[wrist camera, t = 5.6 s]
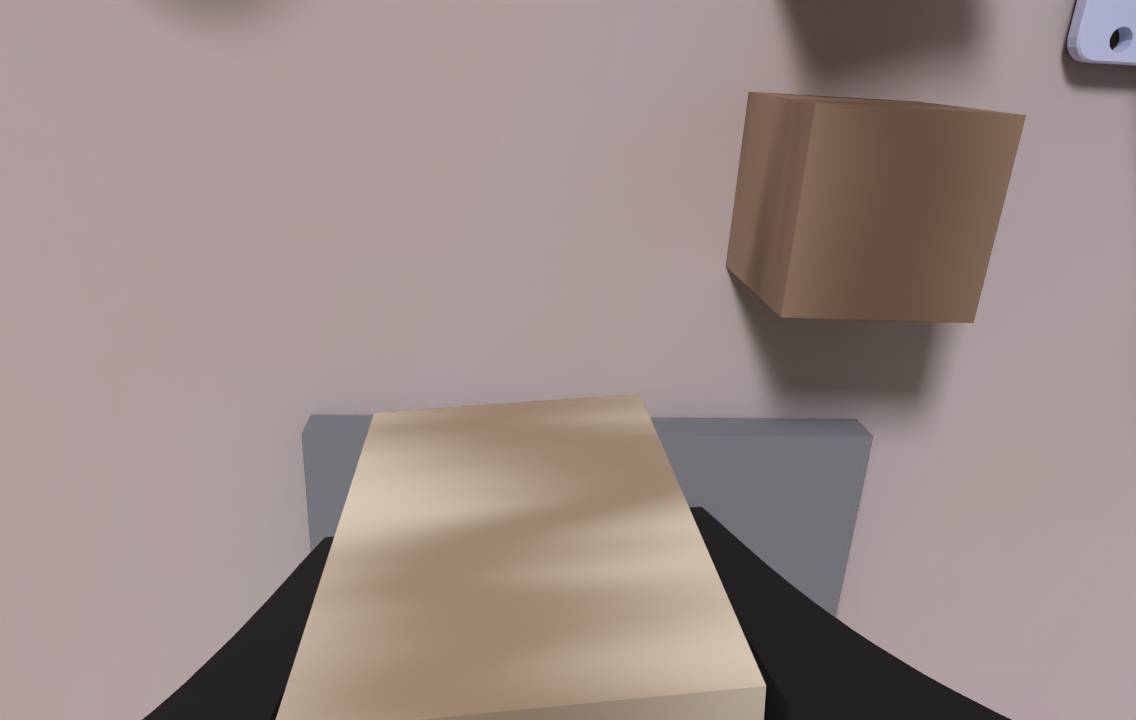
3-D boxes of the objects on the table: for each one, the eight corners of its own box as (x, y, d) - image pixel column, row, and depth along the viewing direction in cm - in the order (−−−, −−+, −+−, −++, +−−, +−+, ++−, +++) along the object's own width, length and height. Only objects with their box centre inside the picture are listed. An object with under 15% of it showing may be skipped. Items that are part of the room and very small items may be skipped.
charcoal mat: (855, 419, 21) (873, 436, 20) (803, 687, 24) (815, 712, 23) (310, 415, 20) (301, 433, 19) (331, 700, 23) (324, 727, 22)
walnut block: (916, 101, 18) (1025, 115, 15) (882, 270, 20) (973, 323, 16) (748, 91, 18) (815, 103, 14) (725, 265, 19) (780, 318, 16)
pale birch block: (639, 394, 12) (765, 685, 7) (640, 608, 14) (744, 994, 8) (374, 412, 12) (271, 733, 6) (404, 629, 13) (341, 1045, 8)
